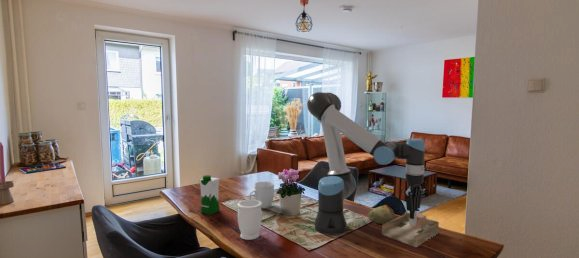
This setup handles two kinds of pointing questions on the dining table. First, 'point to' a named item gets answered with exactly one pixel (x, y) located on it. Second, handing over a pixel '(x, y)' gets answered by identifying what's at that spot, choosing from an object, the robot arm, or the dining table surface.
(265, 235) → the dining table surface
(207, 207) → the milk carton
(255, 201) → the jar
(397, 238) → the tray
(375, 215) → the pastry
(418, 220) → the terracotta block
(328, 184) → the robot arm
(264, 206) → the mug
